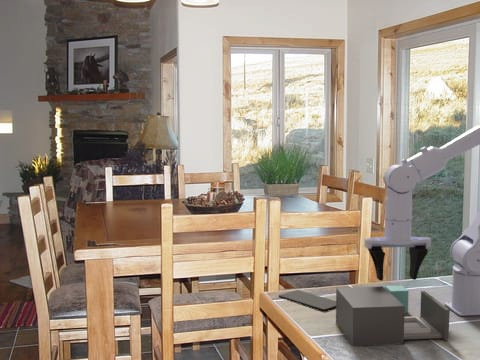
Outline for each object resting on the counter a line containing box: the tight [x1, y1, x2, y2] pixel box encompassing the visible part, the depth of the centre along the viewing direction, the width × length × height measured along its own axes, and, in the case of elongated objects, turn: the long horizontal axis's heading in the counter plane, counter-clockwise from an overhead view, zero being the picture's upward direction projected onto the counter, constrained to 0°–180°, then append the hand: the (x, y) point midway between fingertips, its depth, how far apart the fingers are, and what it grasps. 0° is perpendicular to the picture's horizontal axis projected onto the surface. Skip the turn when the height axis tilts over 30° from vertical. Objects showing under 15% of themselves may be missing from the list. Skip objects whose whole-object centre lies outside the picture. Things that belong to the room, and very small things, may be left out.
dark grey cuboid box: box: [335, 286, 406, 347], centre depth 117 cm, size 10×13×8 cm
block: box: [384, 284, 409, 313], centre depth 131 cm, size 4×4×5 cm
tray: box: [404, 290, 451, 341], centre depth 118 cm, size 10×12×6 cm
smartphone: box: [278, 289, 336, 312], centre depth 138 cm, size 7×1×15 cm
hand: (396, 278), depth 131 cm, fingers open, 7 cm apart
